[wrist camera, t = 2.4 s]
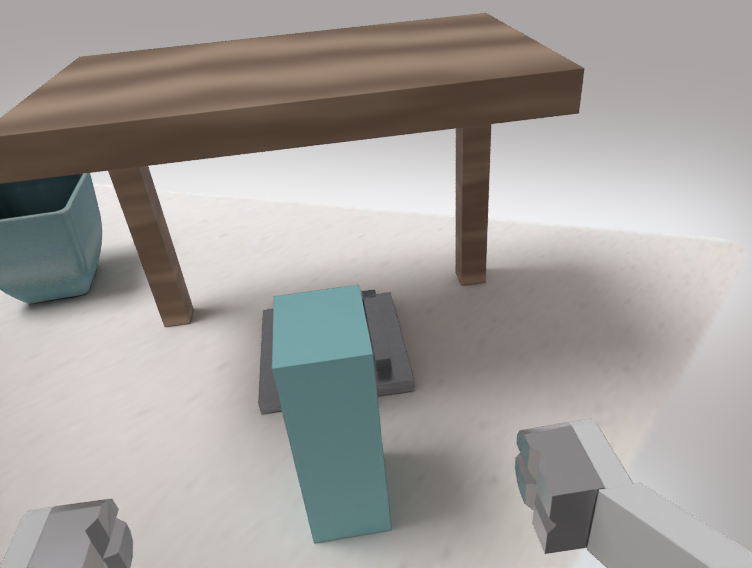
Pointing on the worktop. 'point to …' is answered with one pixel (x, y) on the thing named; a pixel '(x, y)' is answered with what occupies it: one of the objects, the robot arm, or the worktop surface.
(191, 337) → the worktop surface
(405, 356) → the seat cradle
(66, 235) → the flower pot
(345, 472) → the teal box
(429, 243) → the worktop surface
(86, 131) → the overhang shelf
